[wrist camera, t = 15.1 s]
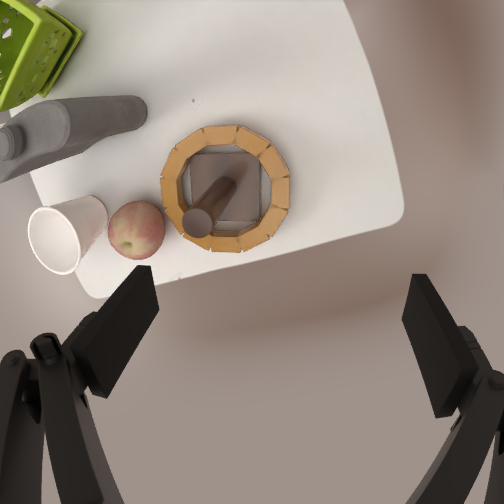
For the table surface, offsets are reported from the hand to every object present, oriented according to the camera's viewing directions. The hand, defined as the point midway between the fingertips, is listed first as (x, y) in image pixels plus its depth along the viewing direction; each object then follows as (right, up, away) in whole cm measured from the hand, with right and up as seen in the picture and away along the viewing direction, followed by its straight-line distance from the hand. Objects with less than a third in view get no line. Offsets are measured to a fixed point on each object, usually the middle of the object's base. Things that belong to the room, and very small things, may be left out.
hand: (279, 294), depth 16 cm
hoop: (-5, +10, +26) cm, 28 cm away
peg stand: (-5, +11, +27) cm, 29 cm away
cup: (-26, +8, +31) cm, 42 cm away
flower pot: (-33, +34, +20) cm, 51 cm away
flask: (-23, +21, +25) cm, 39 cm away
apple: (-16, +7, +31) cm, 36 cm away
